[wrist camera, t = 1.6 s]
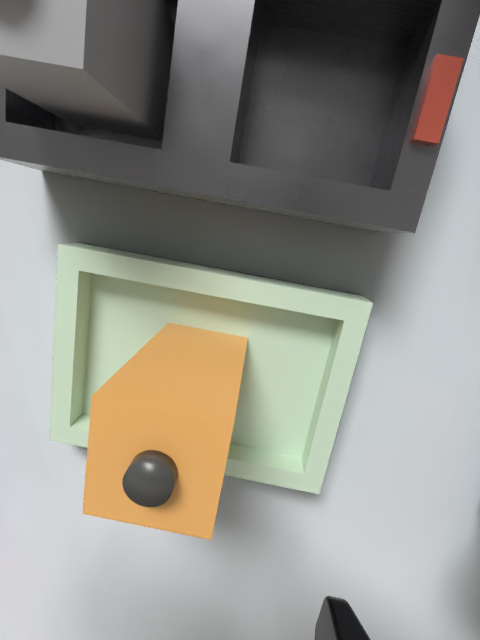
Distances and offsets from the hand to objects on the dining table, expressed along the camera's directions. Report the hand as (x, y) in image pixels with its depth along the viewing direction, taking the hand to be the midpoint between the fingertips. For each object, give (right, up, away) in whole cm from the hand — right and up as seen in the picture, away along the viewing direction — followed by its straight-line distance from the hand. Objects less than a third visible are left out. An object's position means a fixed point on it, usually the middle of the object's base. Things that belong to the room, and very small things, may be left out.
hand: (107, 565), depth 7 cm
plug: (+1, +3, +11) cm, 11 cm away
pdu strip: (+2, +14, +8) cm, 17 cm away
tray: (+1, +3, +11) cm, 12 cm away
